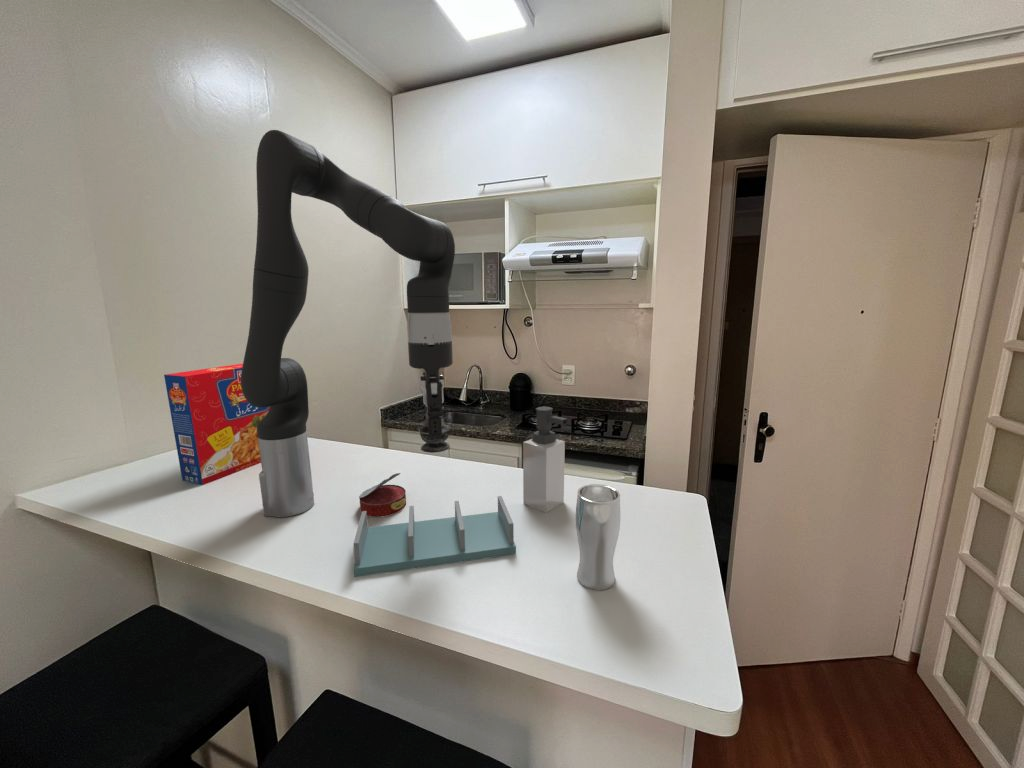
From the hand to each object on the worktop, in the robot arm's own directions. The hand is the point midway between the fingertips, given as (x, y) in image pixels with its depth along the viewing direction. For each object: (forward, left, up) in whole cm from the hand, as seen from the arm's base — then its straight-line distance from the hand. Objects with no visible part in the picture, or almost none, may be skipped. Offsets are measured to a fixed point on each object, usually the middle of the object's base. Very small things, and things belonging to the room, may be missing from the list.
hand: (434, 431), depth 74 cm
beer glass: (+24, -17, -22) cm, 37 cm away
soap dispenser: (+24, +9, -22) cm, 34 cm away
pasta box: (-53, +53, -22) cm, 78 cm away
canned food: (-12, +17, -22) cm, 30 cm away
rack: (-1, -1, -22) cm, 22 cm away
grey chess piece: (0, 0, -3) cm, 3 cm away
